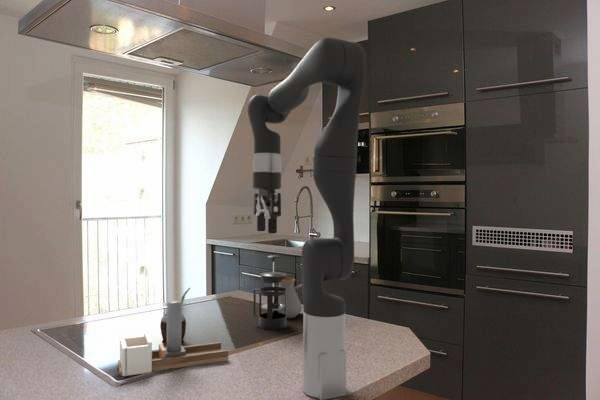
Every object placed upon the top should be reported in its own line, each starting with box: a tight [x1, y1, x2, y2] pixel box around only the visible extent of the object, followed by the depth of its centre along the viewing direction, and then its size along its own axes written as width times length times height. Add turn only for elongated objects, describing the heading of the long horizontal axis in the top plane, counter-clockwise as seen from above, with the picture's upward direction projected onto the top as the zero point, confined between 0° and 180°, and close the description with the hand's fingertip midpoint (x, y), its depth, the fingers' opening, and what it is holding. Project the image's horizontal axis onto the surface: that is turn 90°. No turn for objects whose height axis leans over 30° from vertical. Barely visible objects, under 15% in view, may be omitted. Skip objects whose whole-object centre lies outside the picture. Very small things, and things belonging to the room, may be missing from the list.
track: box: [117, 341, 229, 377], centre depth 118 cm, size 8×26×2 cm, turn 115°
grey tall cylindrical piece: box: [158, 300, 186, 358], centre depth 118 cm, size 6×6×14 cm
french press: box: [252, 254, 288, 331], centre depth 153 cm, size 12×9×23 cm
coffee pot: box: [278, 277, 303, 319], centre depth 166 cm, size 21×12×15 cm, turn 89°
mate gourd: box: [159, 287, 191, 344], centre depth 135 cm, size 8×8×15 cm
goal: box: [119, 331, 153, 377], centre depth 114 cm, size 9×6×7 cm
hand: (266, 232), depth 124 cm, fingers open, 8 cm apart
